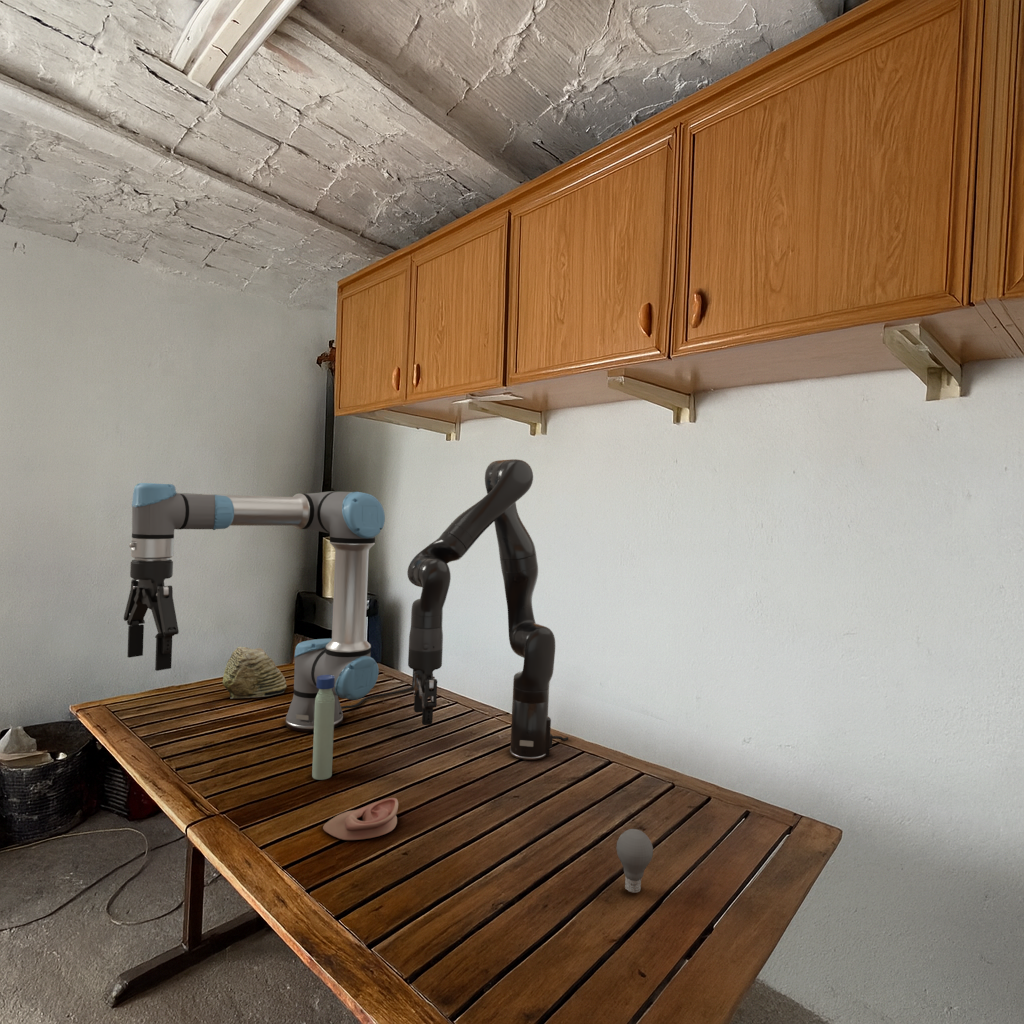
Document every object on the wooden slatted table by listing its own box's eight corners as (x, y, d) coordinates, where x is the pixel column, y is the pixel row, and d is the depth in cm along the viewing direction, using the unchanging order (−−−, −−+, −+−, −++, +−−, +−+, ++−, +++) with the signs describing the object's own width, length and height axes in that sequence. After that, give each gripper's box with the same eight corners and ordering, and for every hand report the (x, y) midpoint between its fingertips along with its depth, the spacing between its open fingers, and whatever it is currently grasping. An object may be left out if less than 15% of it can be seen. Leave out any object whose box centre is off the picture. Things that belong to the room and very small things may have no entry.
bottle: (307, 776, 143) (311, 679, 143) (322, 770, 147) (326, 675, 146) (321, 781, 141) (325, 682, 140) (335, 774, 145) (339, 678, 144)
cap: (312, 687, 143) (312, 677, 143) (325, 683, 146) (326, 673, 146) (325, 690, 141) (325, 680, 141) (338, 686, 144) (338, 676, 144)
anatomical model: (315, 814, 118) (343, 787, 129) (314, 835, 118) (343, 807, 129) (382, 825, 115) (405, 796, 127) (381, 846, 116) (404, 816, 127)
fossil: (218, 695, 195) (220, 647, 195) (278, 685, 208) (279, 640, 207) (228, 703, 189) (230, 653, 188) (289, 692, 201) (290, 645, 201)
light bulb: (610, 879, 108) (613, 822, 108) (644, 879, 109) (647, 822, 109) (619, 902, 102) (622, 840, 102) (655, 901, 103) (658, 840, 103)
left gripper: (108, 554, 134) (104, 654, 134) (159, 565, 118) (155, 678, 119) (146, 552, 140) (143, 648, 140) (199, 563, 124) (195, 671, 124)
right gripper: (450, 652, 136) (447, 727, 136) (434, 638, 150) (431, 706, 150) (415, 654, 134) (412, 730, 134) (403, 639, 147) (400, 708, 147)
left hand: (148, 662), depth 129 cm, fingers open, 13 cm apart
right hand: (422, 717), depth 142 cm, fingers open, 8 cm apart
